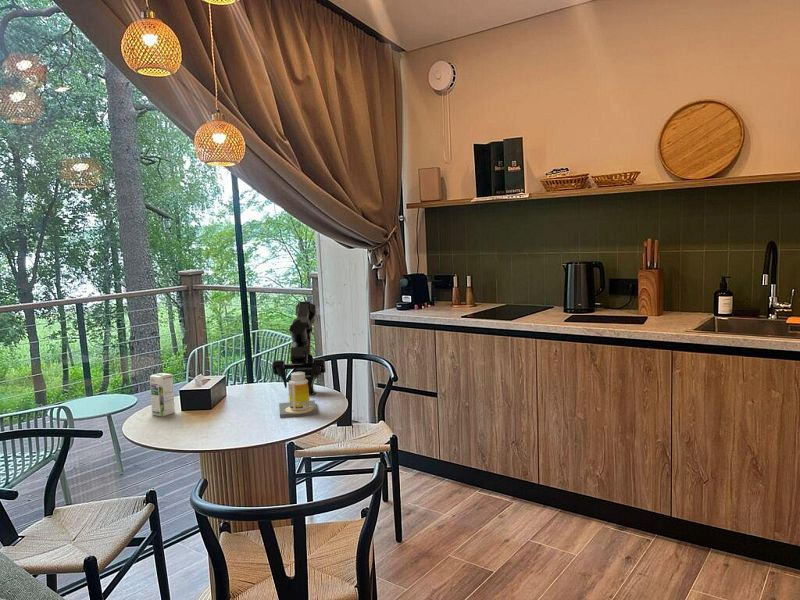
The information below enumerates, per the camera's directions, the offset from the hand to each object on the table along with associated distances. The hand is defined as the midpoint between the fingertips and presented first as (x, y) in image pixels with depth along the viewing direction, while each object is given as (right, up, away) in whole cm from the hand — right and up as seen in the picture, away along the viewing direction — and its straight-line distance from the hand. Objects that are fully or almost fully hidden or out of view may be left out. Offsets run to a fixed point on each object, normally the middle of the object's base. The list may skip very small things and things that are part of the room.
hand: (298, 387), depth 206 cm
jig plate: (-1, -9, +5) cm, 11 cm away
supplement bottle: (0, -8, +2) cm, 9 cm away
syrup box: (-50, -11, +5) cm, 51 cm away
